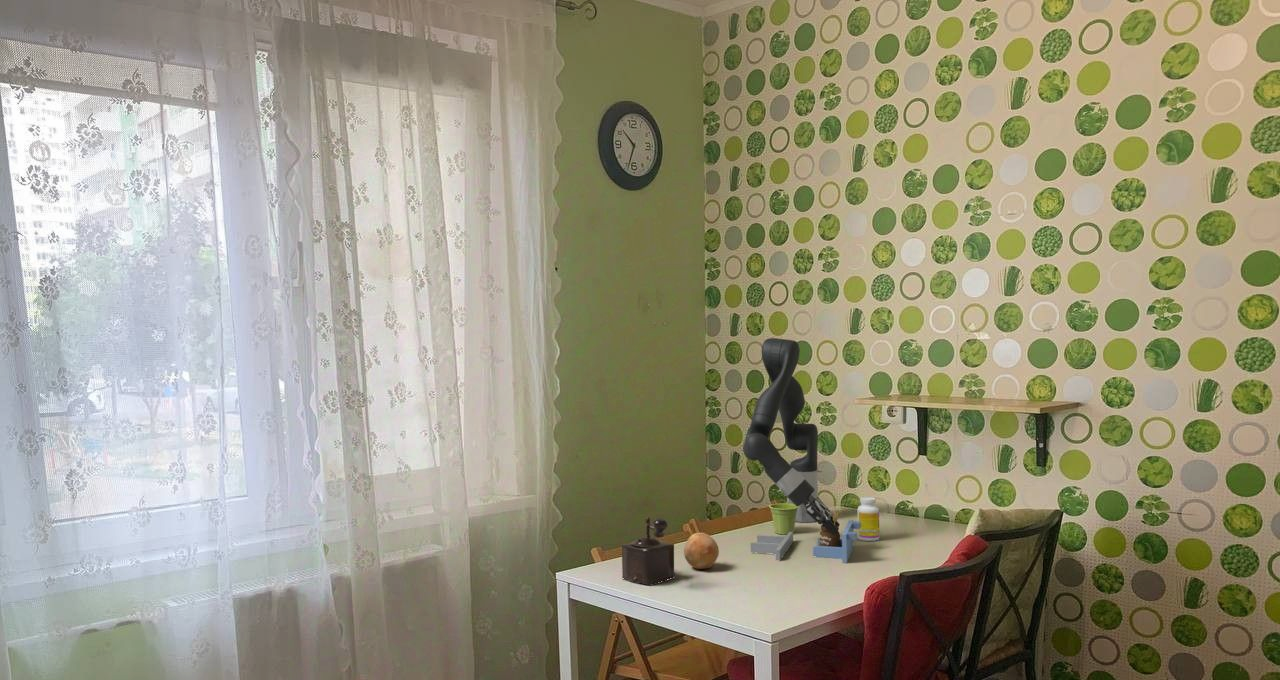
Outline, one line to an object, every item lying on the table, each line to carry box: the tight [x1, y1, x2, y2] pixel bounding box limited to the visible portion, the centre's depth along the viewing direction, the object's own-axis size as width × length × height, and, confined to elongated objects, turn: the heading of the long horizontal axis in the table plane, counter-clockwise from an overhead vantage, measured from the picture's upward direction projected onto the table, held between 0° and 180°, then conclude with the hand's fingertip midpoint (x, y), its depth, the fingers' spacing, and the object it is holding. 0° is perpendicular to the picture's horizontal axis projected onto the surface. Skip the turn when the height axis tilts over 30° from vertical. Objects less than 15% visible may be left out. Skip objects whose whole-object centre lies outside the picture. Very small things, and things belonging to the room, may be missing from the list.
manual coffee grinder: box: [621, 516, 675, 586], centre depth 245 cm, size 16×11×18 cm
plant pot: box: [768, 503, 799, 535], centre depth 298 cm, size 9×9×9 cm
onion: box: [683, 532, 720, 570], centre depth 256 cm, size 10×10×10 cm
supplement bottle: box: [856, 496, 880, 542], centre depth 286 cm, size 7×7×13 cm
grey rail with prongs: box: [750, 532, 794, 561], centre depth 276 cm, size 10×24×3 cm, turn 161°
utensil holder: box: [819, 510, 841, 547], centre depth 270 cm, size 6×6×12 cm
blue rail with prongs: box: [812, 519, 861, 564], centre depth 269 cm, size 12×20×8 cm, turn 162°
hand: (836, 529), depth 269 cm, fingers closed on utensil holder, 5 cm apart
